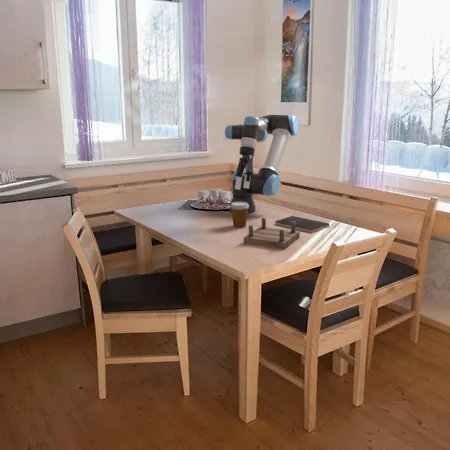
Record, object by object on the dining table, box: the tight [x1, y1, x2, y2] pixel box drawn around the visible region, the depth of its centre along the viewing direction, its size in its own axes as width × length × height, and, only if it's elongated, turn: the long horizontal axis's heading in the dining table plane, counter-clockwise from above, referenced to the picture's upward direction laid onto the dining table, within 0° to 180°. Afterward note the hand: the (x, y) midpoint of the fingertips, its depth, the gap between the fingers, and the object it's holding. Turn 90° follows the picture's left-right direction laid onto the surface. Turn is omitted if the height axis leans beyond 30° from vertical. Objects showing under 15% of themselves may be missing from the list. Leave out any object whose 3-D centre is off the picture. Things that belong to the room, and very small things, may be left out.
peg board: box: [243, 217, 301, 250], centre depth 231 cm, size 20×20×8 cm
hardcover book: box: [274, 215, 330, 234], centre depth 256 cm, size 16×23×2 cm
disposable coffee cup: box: [229, 202, 249, 229], centre depth 254 cm, size 10×10×12 cm
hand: (241, 188), depth 251 cm, fingers open, 13 cm apart
